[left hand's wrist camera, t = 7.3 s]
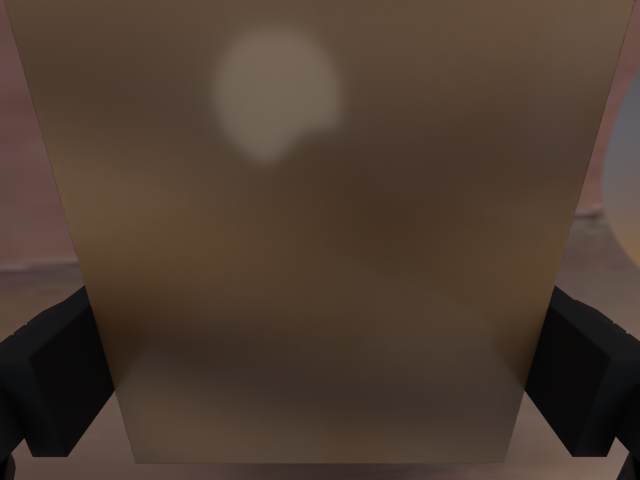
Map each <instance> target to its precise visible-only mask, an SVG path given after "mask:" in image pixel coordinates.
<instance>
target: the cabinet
mask: <svg viewBox="0 0 640 480" xmlns="http://www.w3.org/2000/svg"><path fill="white" fill-rule="evenodd" d="M4 3H5V6H6V10H7V13H8V17H9V20H10V24H11V27H12V31H13V34H14V38H15V41H16V45H17V48H18V52H19V55H20V59H21V62H22V66H23V69H24V73H25V76H26V80H27V84H28V87H29V91H30V94H31V98H32V101H33V105H34V108H35V112H36V115H37V119H38V122H39V126H40V129H41V133H42V136H43V140H44V143H45V147H46V150H47V154H48V157H49V161H50V164H51V168H52V171H53V175H54V178H55V182H56V185H57V189H58V192H59V196H60V199H61V203H62V206H63V210H64V213H65V217H66V220H67V224H68V228H69V231H70V235H71V238H72V242H73V245H74V249H75V252H76V256H77V259H78V263H79V266H80V270H81V273H82V277H83V280H84V284H85V287H86V291H87V294H88V298H89V301H90V305H91V308H92V312H93V315H94V319H95V322H96V326H97V329H98V333H99V336H100V340H101V343H102V347H103V350H104V354H105V357H106V361H107V364H108V368H109V372H110V375H111V379H112V382H113V386H114V389H115V393H116V396H117V400H118V403H119V407H120V410H121V414H122V417H123V421H124V424H125V428H126V431H127V435H128V438H129V442H130V445H131V449H132V452H133V456H134V459H135V463H137V464H427V463H504V461H505V458H506V454H507V451H508V447H509V444H510V440H511V437H512V433H513V429H514V426H515V422H516V419H517V415H518V412H519V408H520V405H521V401H522V398H523V394H524V391H525V387H526V384H527V380H528V377H529V373H530V370H531V366H532V363H533V359H534V356H535V352H536V348H537V345H538V341H539V338H540V334H541V331H542V327H543V324H544V320H545V317H546V313H547V310H548V306H549V303H550V299H551V296H552V292H553V289H554V285H555V282H556V278H557V275H558V271H559V267H560V264H561V260H562V257H563V253H564V250H565V246H566V243H567V239H568V236H569V232H570V229H571V225H572V222H573V218H574V215H575V211H576V208H577V204H578V201H579V197H580V193H581V190H582V186H583V183H584V179H585V176H586V172H587V169H588V165H589V162H590V158H591V155H592V151H593V148H594V144H595V141H596V137H597V134H598V130H599V127H600V123H601V120H602V116H603V112H604V109H605V105H606V102H607V98H608V95H609V91H610V88H611V84H612V81H613V77H614V74H615V70H616V67H617V63H618V60H619V56H620V53H621V49H622V46H623V42H624V39H625V35H626V31H627V28H628V24H629V21H630V17H631V14H632V10H633V7H634V3H635V0H4Z"/></svg>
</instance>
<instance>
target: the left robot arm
mask: <svg viewBox="0 0 640 480" xmlns="http://www.w3.org/2000/svg"><path fill="white" fill-rule="evenodd" d="M114 391H115V389H114V386H113V382H112V379H111V375H110V372H109V368H108V364H107V361H106V357H105V354H104V350H103V347H102V343H101V340H100V336H99V333H98V329H97V326H96V322H95V319H94V315H93V312H92V308H91V305H90V301H89V298H88V294H87V291H86V287H85V285H84V286H83V287H82V288H80V289H79V290H78V291H77V292H75V293H74V294H73V295H71V296H70V297H69V298H67V299H66V300H65V301H63V302H61V303H59V304H57V305H55V306H52V307H50V308H48V309H46V310H44V311H42V312H41V313H40V314H38V315H37V316H36V317H34V318H33V319H32V320H30V321H29V322H28V323H27V325H24V326H22V327H21V328H20V329H18V330H17V331H15V332H14V335H10V336H9V337H7V338H6V339H5V340H3V341H2V342H1V343H0V480H14V475H15V469H16V466H15V461H14V458H13V456H12V454H11V452H12V451H13V450H14V449H15V448H16V447H17V446H18V445H19V443H20V442H21V441H22V440H23V439H24V438H25V440H26V443H27V445H28V447H29V449H30V452H31V454H32V456H33V457H67V456H68V455H69V454H70V452H71V451H72V449H73V448H74V447H75V445H76V444H77V442H78V441H79V440H80V438H81V437H82V435H83V434H84V433H85V431H86V430H87V428H88V427H89V426H90V424H91V423H92V422H93V420H94V419H95V417H96V416H97V415H98V413H99V412H100V410H101V409H102V408H103V406H104V405H105V403H106V402H107V401H108V399H109V398H110V396H111V395H112V394H113V392H114ZM525 391H526V393H527V394H528V396H529V397H530V398H531V400H532V401H533V403H534V404H535V405H536V407H537V408H538V410H539V411H540V412H541V414H542V415H543V416H544V418H545V419H546V421H547V422H548V423H549V425H550V426H551V428H552V429H553V430H554V432H555V433H556V435H557V436H558V437H559V439H560V440H561V442H562V443H563V444H564V446H565V447H566V448H567V450H568V451H569V453H570V454H571V455H572V457H607V455H608V453H609V450H610V448H611V446H612V443H613V441H614V439H615V437H617V438H618V440H619V441H620V442H621V443H622V444H623V445H624V446H625V447H626V449H627V450H628V451H629V454H628V456H627V458H626V460H625V462H624V464H623V467H622V469H621V471H620V473H619V475H618V477H617V479H616V480H640V341H639V340H637V339H636V338H635V337H633V336H632V335H631V334H627V333H626V331H625V330H624V329H622V328H621V327H620V326H618V325H617V324H613V321H612V320H610V319H609V318H607V317H606V316H605V315H603V314H602V313H601V312H599V311H598V310H596V309H594V308H592V307H590V306H588V305H586V304H584V303H582V302H580V301H578V300H573V299H572V298H571V297H570V296H568V295H567V294H566V293H564V292H563V291H562V290H560V289H559V288H558V287H556V286H555V285H554V289H553V292H552V296H551V299H550V303H549V306H548V310H547V313H546V317H545V320H544V324H543V327H542V331H541V334H540V338H539V341H538V345H537V348H536V352H535V356H534V359H533V363H532V366H531V370H530V373H529V377H528V380H527V384H526V387H525Z"/></svg>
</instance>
